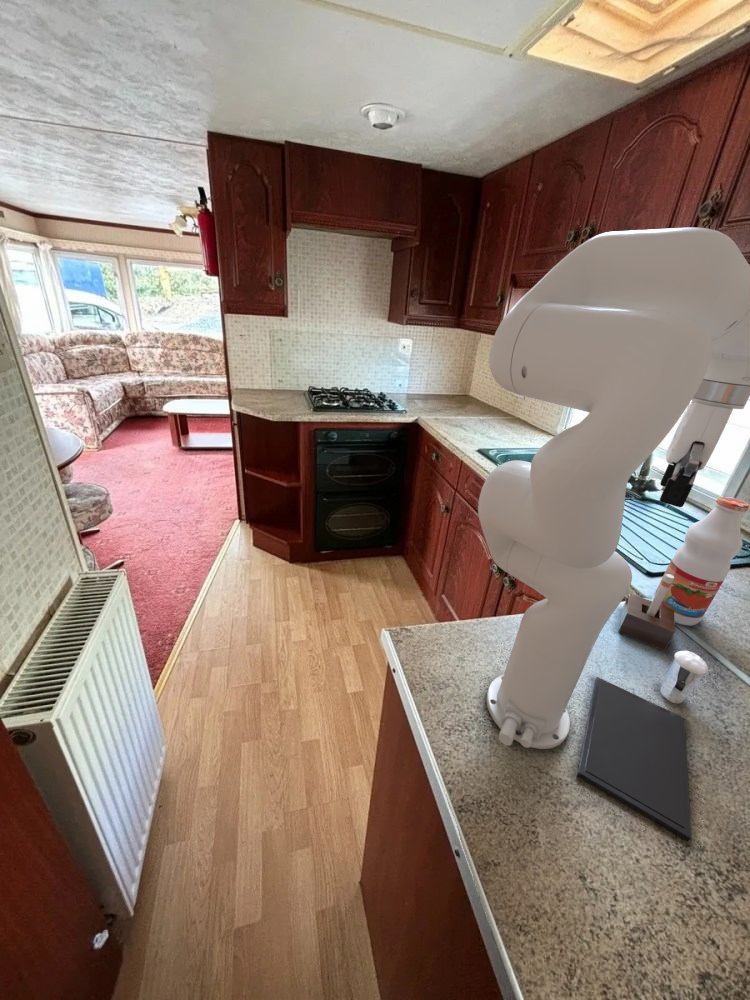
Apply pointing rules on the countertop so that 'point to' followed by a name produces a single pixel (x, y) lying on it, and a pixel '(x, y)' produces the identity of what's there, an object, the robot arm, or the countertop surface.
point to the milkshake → (683, 676)
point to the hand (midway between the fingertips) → (670, 495)
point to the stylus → (660, 595)
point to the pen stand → (647, 622)
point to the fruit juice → (704, 560)
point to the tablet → (637, 756)
